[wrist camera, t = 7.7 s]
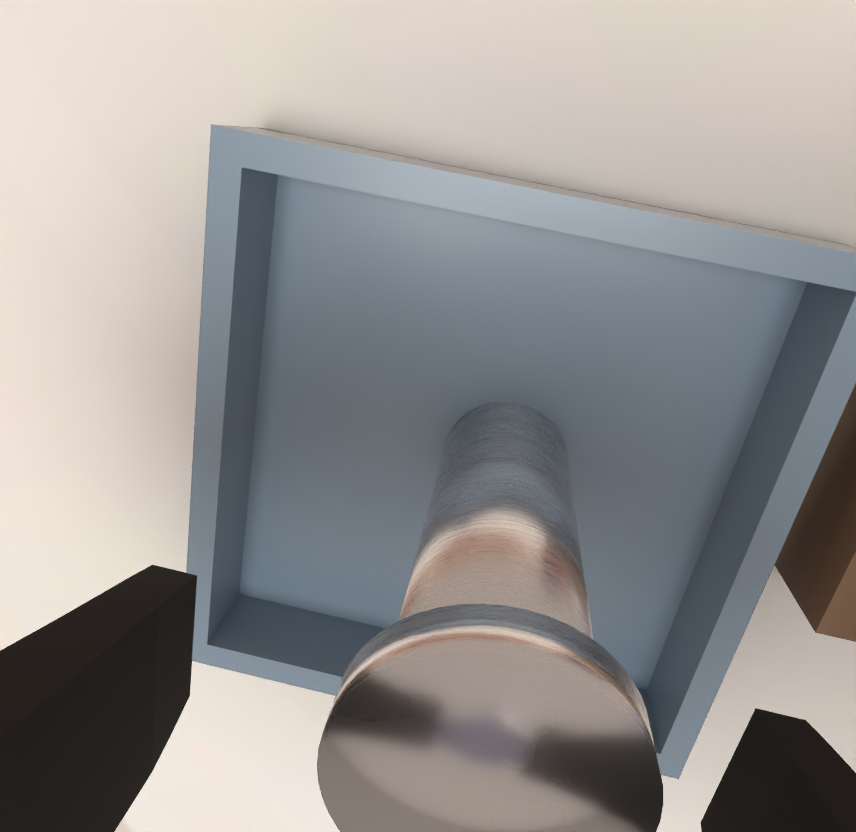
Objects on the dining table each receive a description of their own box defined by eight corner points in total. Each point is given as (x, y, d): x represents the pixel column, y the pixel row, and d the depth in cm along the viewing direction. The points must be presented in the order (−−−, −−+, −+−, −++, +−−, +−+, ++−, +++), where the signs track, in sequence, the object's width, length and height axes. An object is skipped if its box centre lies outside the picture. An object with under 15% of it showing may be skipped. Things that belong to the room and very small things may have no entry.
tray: (844, 244, 14) (908, 263, 11) (658, 698, 18) (678, 779, 16) (261, 128, 14) (211, 124, 12) (223, 595, 19) (181, 658, 17)
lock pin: (610, 402, 15) (715, 706, 7) (564, 547, 16) (604, 943, 8) (440, 362, 15) (343, 613, 7) (408, 510, 17) (297, 860, 8)
